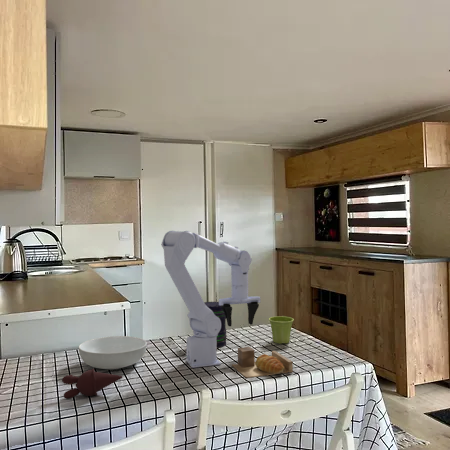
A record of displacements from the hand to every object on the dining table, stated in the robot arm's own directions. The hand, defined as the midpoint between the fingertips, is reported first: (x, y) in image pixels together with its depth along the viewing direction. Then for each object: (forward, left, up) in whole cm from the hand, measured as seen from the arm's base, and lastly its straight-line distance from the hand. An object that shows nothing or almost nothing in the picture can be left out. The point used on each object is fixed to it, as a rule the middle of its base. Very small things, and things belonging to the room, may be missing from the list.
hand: (240, 324), depth 149 cm
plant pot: (+20, +9, -10) cm, 24 cm away
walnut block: (-3, -13, -10) cm, 16 cm away
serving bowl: (-42, +3, -10) cm, 43 cm away
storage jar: (-5, +15, -10) cm, 19 cm away
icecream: (-49, -20, -10) cm, 54 cm away
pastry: (+2, -19, -10) cm, 21 cm away
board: (+1, -16, -10) cm, 19 cm away
